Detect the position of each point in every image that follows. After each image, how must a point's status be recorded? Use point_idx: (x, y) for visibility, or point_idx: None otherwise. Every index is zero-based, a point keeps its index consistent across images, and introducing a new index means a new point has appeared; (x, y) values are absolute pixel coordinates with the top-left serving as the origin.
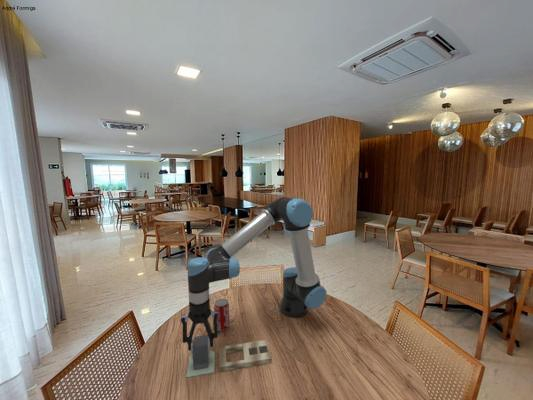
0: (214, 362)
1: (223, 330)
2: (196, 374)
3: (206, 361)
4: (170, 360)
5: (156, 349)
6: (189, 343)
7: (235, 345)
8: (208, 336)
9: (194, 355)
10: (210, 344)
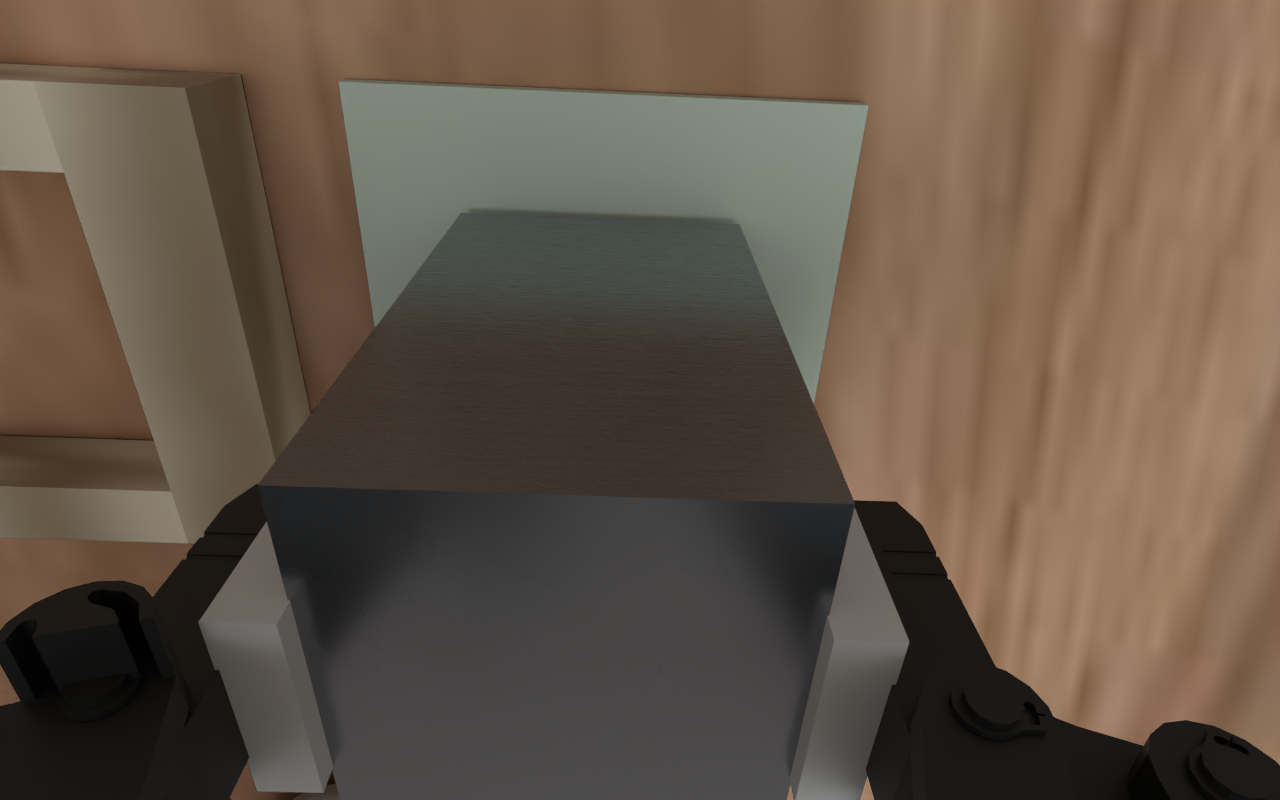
0: (371, 298)
1: (328, 792)
2: (677, 114)
3: (470, 252)
4: (1075, 499)
5: (1224, 693)
6: (963, 666)
7: (4, 521)
8: (314, 790)
9: (744, 343)
10: None
